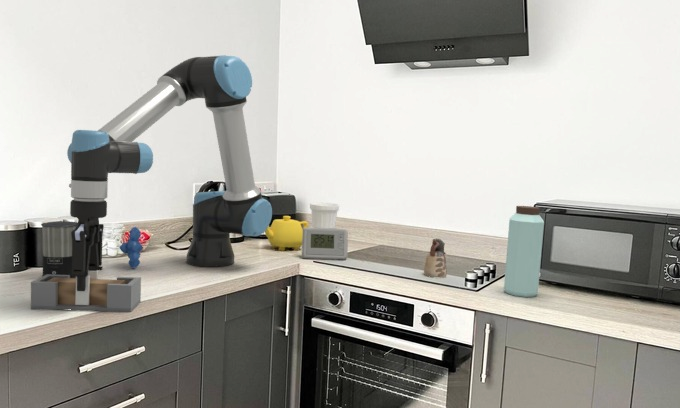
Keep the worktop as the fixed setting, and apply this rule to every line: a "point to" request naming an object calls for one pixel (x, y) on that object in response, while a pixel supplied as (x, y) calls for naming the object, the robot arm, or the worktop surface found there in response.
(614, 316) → the worktop surface
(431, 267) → the figurine
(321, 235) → the digital clock
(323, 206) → the cup
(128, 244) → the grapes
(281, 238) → the teapot
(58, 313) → the worktop surface
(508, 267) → the water bottle
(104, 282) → the slat
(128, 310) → the rail
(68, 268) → the milk frother
